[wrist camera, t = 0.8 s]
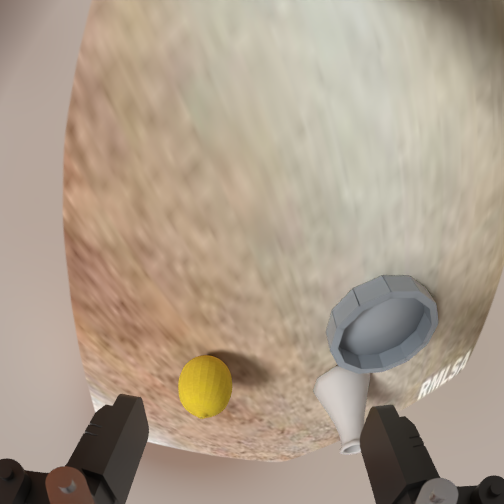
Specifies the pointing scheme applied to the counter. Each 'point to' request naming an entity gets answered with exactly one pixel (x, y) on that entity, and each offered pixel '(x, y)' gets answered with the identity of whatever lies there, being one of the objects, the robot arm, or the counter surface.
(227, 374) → the lemon
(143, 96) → the counter surface
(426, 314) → the dish
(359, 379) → the flask
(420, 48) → the counter surface
